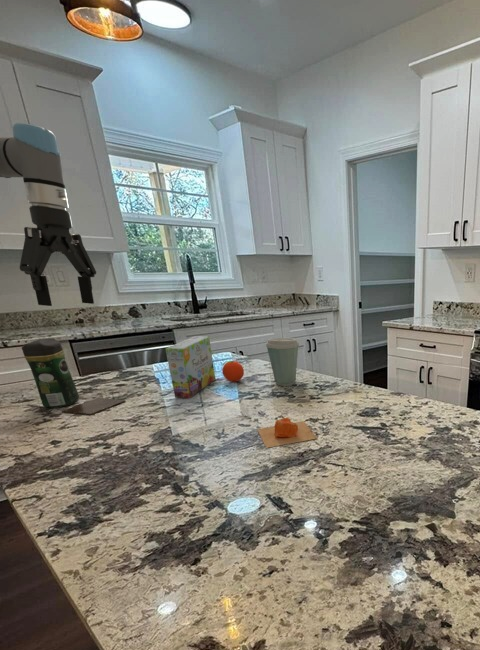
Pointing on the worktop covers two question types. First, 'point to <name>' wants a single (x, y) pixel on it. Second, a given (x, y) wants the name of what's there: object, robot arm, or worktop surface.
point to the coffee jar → (51, 372)
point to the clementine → (233, 371)
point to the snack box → (190, 365)
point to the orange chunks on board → (285, 433)
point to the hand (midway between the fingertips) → (68, 304)
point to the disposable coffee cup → (283, 359)
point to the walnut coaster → (93, 406)
